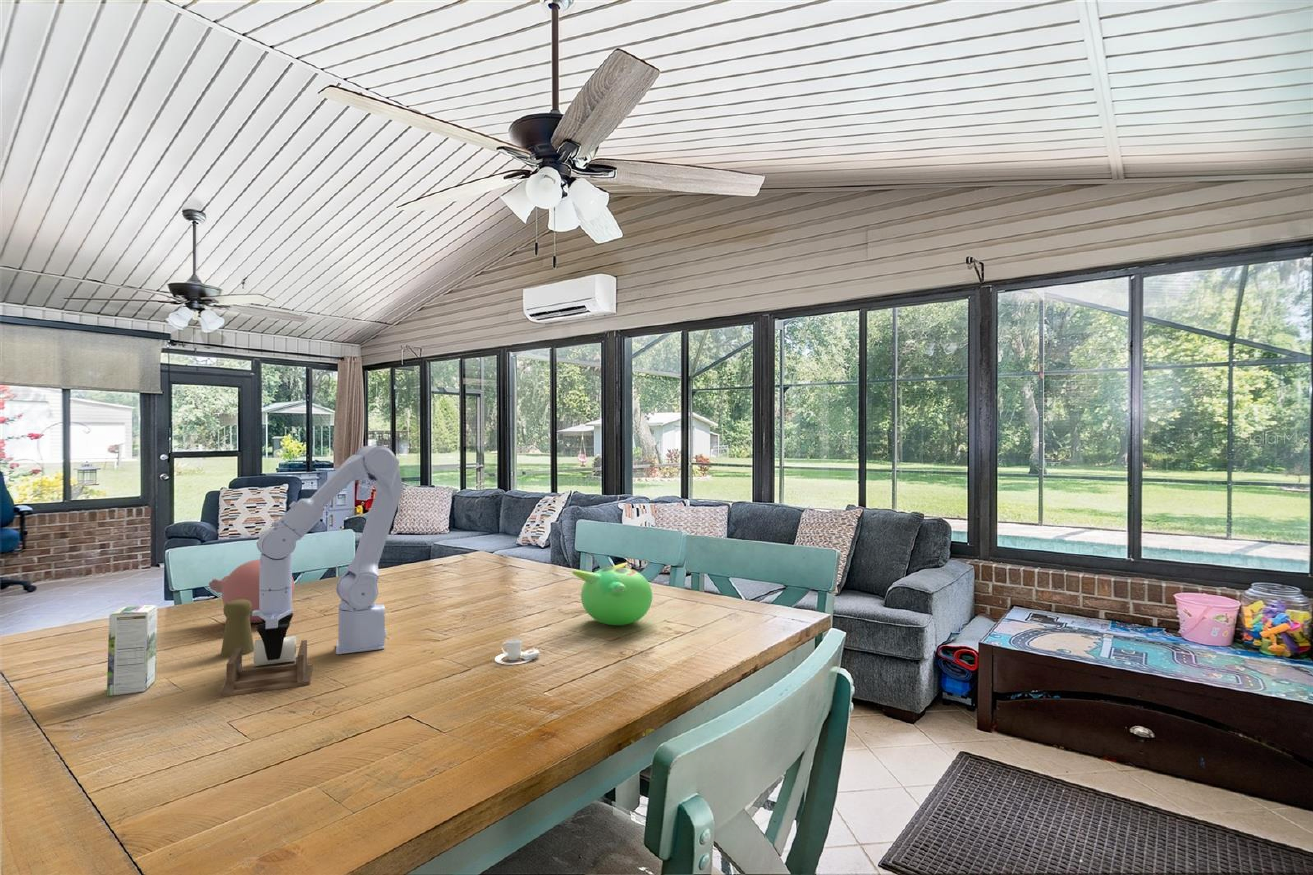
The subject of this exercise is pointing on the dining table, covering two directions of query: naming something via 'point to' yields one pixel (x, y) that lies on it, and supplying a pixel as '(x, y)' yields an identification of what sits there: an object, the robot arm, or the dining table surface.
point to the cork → (237, 628)
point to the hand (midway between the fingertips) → (275, 655)
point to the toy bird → (615, 594)
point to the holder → (265, 674)
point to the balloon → (242, 586)
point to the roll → (286, 654)
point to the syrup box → (132, 649)
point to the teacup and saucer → (515, 652)
